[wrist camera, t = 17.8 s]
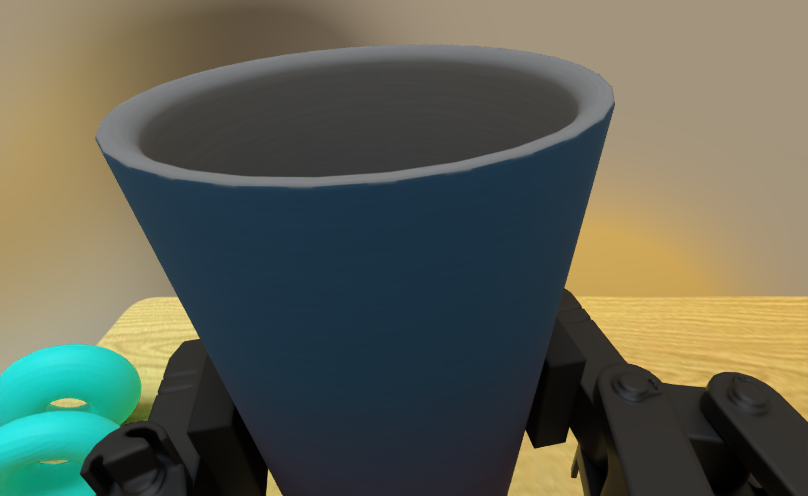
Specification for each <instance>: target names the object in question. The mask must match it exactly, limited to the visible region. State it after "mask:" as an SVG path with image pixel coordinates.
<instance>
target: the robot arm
mask: <svg viewBox="0 0 808 496" xmlns="http://www.w3.org/2000/svg"><path fill="white" fill-rule="evenodd" d="M163 378H164V379H163V380H162V381H161V384H160V387H159V390H158V395H156V398H155V401H154V404H153V407H152V409H151V412H150V415H149V418H148V421H138V422H134V423H130V424H126V425H124V426H122V427H120V428H118V429H116V430H114V431H113V432H111V433H109V434H108V435H107V436H106V437H104V438H103V439H102V440H101V441H100V442H98V443H97V444H96V445H95V446H94V447H93V449H92V450H91V451H90V453H89V454H88V455H87V457H86V458H85V459H84V462H83V465H82V468H81V471H80V475H81V476H82V478H83V479H84V480H85V481H86V482H87V484H88V485H89V486H90V487H91V488H92V490H93V491H94V492H95V493H96V495H95V496H266V489H267V477H268V467H267V465H266V463H265V461H264V459H263V457H262V455H261V453H260V451H259V450H258V448H257V446H256V444H255V442H254V440H253V438H252V436H251V434H250V432H249V431H248V429H247V427H246V425H245V423H244V421H243V419H242V417H241V415H240V413H239V412H238V410H237V408H236V406H235V404H234V402H233V400H232V398H231V396H230V394H229V393H228V391H227V389H226V387H225V385H224V383H223V381H222V379H221V377H220V376H219V374H218V372H217V370H216V368H215V366H214V364H213V362H212V360H211V358H210V357H209V355H208V353H207V351H206V349H205V347H204V345H203V343H202V341H201V339H196V340H190V341H184V342H183V343H182V344H181V345H180V347H179V348H178V349H177V350H176V351H175V353H174V354H173V355H172V356H171V357H170V359H169V361H168V364H167V367H166V370H165V373H164V376H163ZM569 427H570V429H571V430H572V432H573V434H574V436H575V437H576V439H577V441H578V446H577V450H576V453H575V457H574V460H573V464H572V467H571V478H576V477H577V474H578V471H579V472H580V477H581V482H582V487H583V492H584V496H808V422H807V421H806V420H805V419H804V418H803V417H802V416H801V415H800V414H799V413H798V412H797V411H796V410H795V409H794V408H793V407H792V406H791V405H790V404H789V403H788V402H787V401H786V400H785V399H784V398H783V397H782V396H781V395H780V394H779V393H778V392H776V391H775V390H774V389H773V388H771V387H770V386H769V385H767V384H766V383H764V382H762V381H760V380H758V379H756V378H754V377H752V376H748V375H745V374H741V373H737V372H722V373H719V374H716V375H714V376H713V377H712V378H711V380H710V381H709V383H708V385H707V387H706V388H704V387H694V386H684V385H673V384H667V383H662V382H661V381H660V379H658V378H657V377H656V376H655V375H653V374H652V373H651V372H650V371H648V370H646V369H643V368H641V367H639V366H637V365H633V364H628V363H627V362H626V361H625V360H624V359H623V357H622V356H621V355H620V354H619V352H618V351H617V350H616V349H615V347H614V346H613V345H612V344H611V342H610V341H609V340H608V339H607V337H606V336H605V335H604V334H603V332H602V331H601V330H600V328H599V327H598V326H597V325H596V323H595V322H594V321H593V320H591V319H590V316H589V315H588V313H587V312H586V311H585V310H584V309H582V306H581V305H580V303H579V302H578V301H577V300H576V298H575V297H574V296H573V295H572V293H571V292H569V291H568V290H566V289H565V288H564V291H563V295H562V298H561V302H560V305H559V309H558V313H557V316H556V320H555V324H554V327H553V331H552V334H551V338H550V342H549V345H548V349H547V353H546V356H545V360H544V363H543V367H542V371H541V374H540V378H539V382H538V385H537V389H536V392H535V396H534V400H533V403H532V407H531V411H530V414H529V418H528V422H527V425H526V429H525V430H526V432H527V434H528V436H529V438H530V441H531V443H532V445H533V447H534V449H535V448H540V447H545V446H550V445H554V444H559V443H564V442H566V438H567V434H568V430H569Z"/></svg>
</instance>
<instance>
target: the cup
mask: <svg viewBox="0 0 808 496" xmlns="http://www.w3.org/2000/svg"><path fill="white" fill-rule="evenodd" d="M614 105H615V102H614V96H613V90H612V86H610V84H608V83H607V81H606V80H604V79H603V78H602V77H601V76H600V75H599V74H597V73H595V72H593V71H591V70H589V69H587V68H585V67H583V66H581V65H579V64H575V63H573V62H569V61H566V60H563V59H560V58H556V57H551V56H547V55H542V54H537V53H532V52H525V51H518V50H511V49H503V48H492V47H479V46H462V45H461V46H460V45H386V46H368V47H353V48H342V49H331V50H320V51H312V52H305V53H297V54H288V55H282V56H276V57H270V58H264V59H258V60H252V61H247V62H243V63H238V64H233V65H228V66H223V67H219V68H215V69H211V70H207V71H203V72H199V73H196V74H192V75H189V76H186V77H182V78H179V79H176V80H173V81H170V82H167V83H164V84H161V85H159V86H157V87H154V88H152V89H149V90H147V91H144V92H142V93H139V94H138V95H136V96H134V97H132V98H131V99H129V100H127V101H125V102H123V103H122V104H120V105H118V106H116V108H114V109H113V110H112V111H111V112H110V113H109V114H108V115H107V116H106V117H104V118H103V119H102V120H101V123H100V126H99V128H98V131H97V134H96V141H97V143H98V145H99V147H100V149H101V151H102V153H103V155H104V157H105V159H106V161H107V163H108V165H109V166H110V168H111V170H112V172H113V174H114V176H115V178H116V180H117V182H118V184H119V186H120V188H121V189H122V191H123V193H124V195H125V197H126V199H127V201H128V203H129V205H130V206H131V208H132V210H133V212H134V214H135V216H136V218H137V220H138V222H139V224H140V225H141V227H142V229H143V231H144V233H145V235H146V237H147V239H148V241H149V243H150V244H151V246H152V248H153V250H154V252H155V254H156V256H157V258H158V260H159V262H160V263H161V265H162V267H163V269H164V271H165V273H166V275H167V277H168V279H169V280H170V282H171V284H172V286H173V288H174V290H175V292H176V294H177V296H178V298H179V300H180V301H181V303H182V305H183V307H184V309H185V311H186V313H187V315H188V317H189V319H190V320H191V322H192V324H193V326H194V328H195V330H196V332H197V334H198V336H199V338H200V339H201V341H202V343H203V345H204V347H205V349H206V351H207V353H208V355H209V357H210V358H211V360H212V362H213V364H214V366H215V368H216V370H217V372H218V374H219V376H220V377H221V379H222V381H223V383H224V385H225V387H226V389H227V391H228V393H229V394H230V396H231V398H232V400H233V402H234V404H235V406H236V408H237V410H238V412H239V413H240V415H241V417H242V419H243V421H244V423H245V425H246V427H247V429H248V431H249V432H250V434H251V436H252V438H253V440H254V442H255V444H256V446H257V448H258V450H259V451H260V453H261V455H262V457H263V459H264V461H265V463H266V465H267V467H268V469H269V470H270V472H271V474H272V476H273V478H274V480H275V482H276V484H277V486H278V488H279V489H280V491H281V493H282V495H283V496H507V494H508V490H509V487H510V483H511V480H512V476H513V472H514V469H515V465H516V461H517V458H518V454H519V451H520V447H521V443H522V440H523V436H524V432H525V429H526V425H527V422H528V418H529V414H530V411H531V407H532V403H533V400H534V396H535V392H536V389H537V385H538V382H539V378H540V374H541V371H542V367H543V363H544V360H545V356H546V353H547V349H548V345H549V342H550V338H551V334H552V331H553V327H554V324H555V320H556V316H557V313H558V309H559V305H560V302H561V298H562V295H563V291H564V287H565V284H566V280H567V276H568V273H569V269H570V265H571V261H572V258H573V254H574V251H575V247H576V244H577V240H578V236H579V233H580V229H581V225H582V222H583V218H584V214H585V210H586V207H587V204H588V200H589V197H590V193H591V189H592V186H593V182H594V178H595V175H596V171H597V168H598V164H599V160H600V156H601V153H602V149H603V146H604V142H605V138H606V135H607V131H608V128H609V124H610V120H611V117H612V113H613V109H614Z"/></svg>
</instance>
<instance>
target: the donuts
mask: <svg viewBox="0 0 808 496" xmlns="http://www.w3.org/2000/svg"><path fill="white" fill-rule="evenodd" d="M140 395H141V381H140V377H139V375H138V372H137V370H136V369H135V368H134V366H133V365H132V364H131V363H130V362H129V361H128V360H127V359H125V358H124V357H123V356H121V355H120V354H118V353H116V352H114V351H111V350H109V349H106V348H102V347H98V346H93V345H83V344H68V345H59V346H53V347H49V348H45V349H41V350H38V351H36V352H33V353H31V354H29V355H27V356H25V357H23V358H21V359H19V360H18V361H16V362H14V363H13V364H12V365H10V366H9V367H8V368H7V369H6V370H5V371H4V372H3V373H2V374H1V375H0V496H95V495H96V493H95V492H94V491H93V490H92V488H91V487H90V486H89V485H88V484H87V482H86V481H85V480H84V479H83V478H82V476H81V475H80V471H81V468H82V465H83V462H84V459H85V458H86V457H87V455H88V454H89V453H90V451H91V450H92V449H93V447H94V446H95V445H96V444H97V443H98V442H100V441H101V440H102V439H103V438H104V437H106V436H107V435H108V434H109V433H111V432H113V431H114V430H116V429H118V428H120V425H121V424H122V423H123V422H125V421H126V420H127V419H128V417H129V416H130V415H131V414H132V412H133V411H134V410H135V408H136V406H137V404H138V402H139V399H140ZM64 398H74V399H79V400H82V401H85V402H86V403H88V404H86V405H83V406H79V407H68V408H67V407H58V406H54V405H51V404H49V403H51V402H53V401H56V400H59V399H64ZM47 460H69V461H67V462H64V463H60V464H44V463H39V462H42V461H47Z"/></svg>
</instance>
